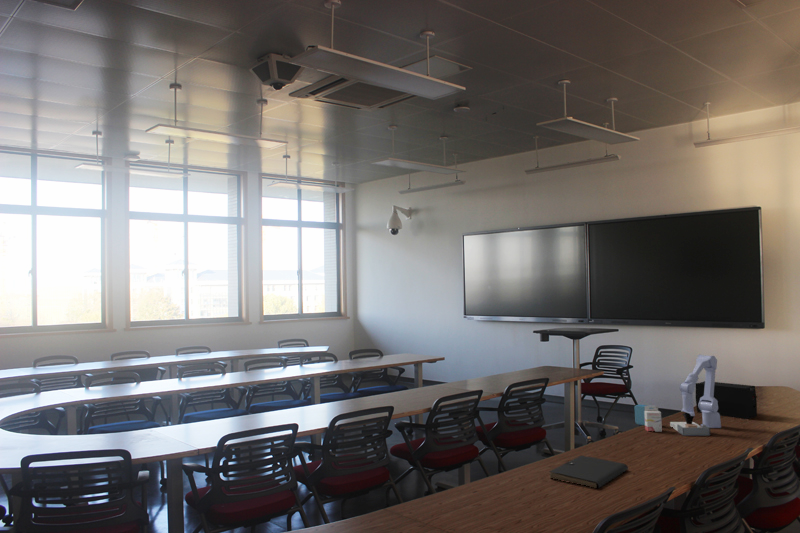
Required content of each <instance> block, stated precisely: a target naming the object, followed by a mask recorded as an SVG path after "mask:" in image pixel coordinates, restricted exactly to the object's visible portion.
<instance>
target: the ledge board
mask: <svg viewBox="0 0 800 533" xmlns="http://www.w3.org/2000/svg"><path fill="white" fill-rule="evenodd" d="M677 424H679V425H680V426H682V427H683V428H686V427H685V424H687V423H686V421H670V422H669V426H670V427H671V428H672V427H673V428H672V429H674V430H675V431H677V432H678V428H677ZM692 424H695V425H697V428H703V426H701V425H699V424H698V423H697V422H694V421H692Z"/></svg>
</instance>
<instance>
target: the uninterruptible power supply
mask: <svg viewBox="0 0 800 533" xmlns="http://www.w3.org/2000/svg"><path fill="white" fill-rule="evenodd" d="M704 388H705V380H703V381H701V382H696V384H695V406H696V410H697V411H696V412H697V413H699V414H702V412H701V410H700V409H699V407H698V404H699V401H700V398H701V397H702V396H704ZM756 393H757V392H756V386H755V385H750V384H749V385H748V384H740V383H739V384H737V383H727V382H719V381H715V384H714V396H713V397H714V398H715V399H716V400H717V401H718V411H717V412H718V413H719V414H720V417H726V418H727V417H728V418H733V417H734V419H735V418H736V419H740V418H741V419H742V420H747V419H748V420H750V419H752V418H756V417H758V411H757V410H758V408H757V407H758V406H757V404H758V403H757V402H758V401H757V398H758V395H757V394H756ZM707 401H708V400H707ZM709 402H711V401H709Z"/></svg>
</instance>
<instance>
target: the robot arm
mask: <svg viewBox="0 0 800 533" xmlns="http://www.w3.org/2000/svg"><path fill="white" fill-rule="evenodd" d="M695 361H696V363H695V366H694V368H693V370H692V372H690V373H688V375H687V377H686V379H685V381H684V382H681V384H680V385H679V391H680V395H681V396H682V399H681V400H682V408H681V412H682V416H683V417H684V419H685V422H686V423H687V424H692V422H694V421H693V420H694V418H695V417H696V415H695V410H694V395H693V394H694V392H695V391H696V383H698V381H699V379H700V378H699V375H700V374H701V372H702V371H703V370H705V377H704V378H705V379H704V381H705V388H704V396H702V397H701V398H700V401H699V404H698V407H699V409H700V410H701V412H702V413H701V417H702V423H701V424H700V426H701V427H703V424H704V425H706V426H708V427H709V428H710V429H721V428H722V424H721V416H720V414H719V413H718V412H717V411H718V401H717V400H716V399H715V398H714V397H713V396H714V384H715V382H716V370H717V367H718V359H717V358H716V356H715V355H706V354H705V355H704V354H698V355H697V357H696V359H695ZM707 400H708V401H707ZM709 401H711V402H709Z"/></svg>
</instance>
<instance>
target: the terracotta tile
mask: <svg viewBox="0 0 800 533" xmlns="http://www.w3.org/2000/svg"><path fill="white" fill-rule="evenodd" d="M685 427H686V428H697V425H695V424H685Z"/></svg>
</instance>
